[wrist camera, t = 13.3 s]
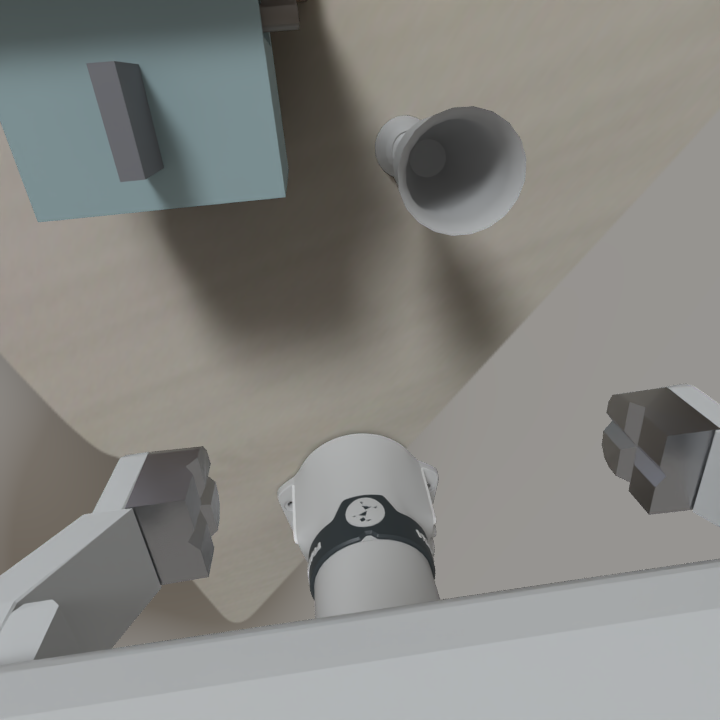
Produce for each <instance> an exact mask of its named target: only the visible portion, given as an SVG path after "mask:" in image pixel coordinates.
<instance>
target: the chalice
mask: <svg viewBox="0 0 720 720" xmlns="http://www.w3.org/2000/svg"><path fill="white" fill-rule="evenodd" d="M375 154H376V158H377V160H378V163H379V165H380V166H381V167H382V169H383V170H384V171H385V172H386V173H388V174H389V175H391V176H393V177H394V178H395V180H396V183H397V185H398V188H399V192H400V194H401V197H402V199H403V202H404V204H405V207H406V209H407V210H408V211H409V212H410V213H411V214H412V216H413V217H414V218H415V219H416V220H417V221H418V222H419V223H420V224H422V225H424V226H425V227H427V228H429V229H431V230H432V231H434V232H438V233H443V234H447V235H452V236H454V235H466V234H473V233H475V232H478V231H481V230H483V229H486V228H488V227H490V226H491V225H493V224H494V223H495V222H497V221H498V220H500V219H501V218H502V217H504V216H505V215H506V214H507V212H508V211H509V210H510V208H511V207H512V206H513V204H514V203H515V202H516V200H517V199H518V197H519V194H520V192H521V189H522V186H523V184H524V181H525V173H526V156H525V152H524V149H523V145H522V141H521V139H520V137H519V136H518V134H517V133H516V132H515V130H514V129H513V127H512V126H511V124H510V123H509V122H507V121H506V120H505V119H503V118H502V117H500V116H499V115H497V114H496V113H494V112H493V111H489V110H485V109H482V108H478V107H474V106H471V107H456V108H451V109H448V110H446V111H443V112H441V113H438V114H436V115H433V116H431V117H428V118H426V119H423V120H421V121H420V120H419V119H418V118H415V117H412V116H408V115H407V116H398V117H396V118H393V119H391V120H389V121H388V122H387V123H386V124H385V125H384V126H383V127H382V128H381V130H380V132H379V133H378V135H377V139H376V143H375Z"/></svg>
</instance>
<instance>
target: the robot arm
mask: <svg viewBox="0 0 720 720" xmlns="http://www.w3.org/2000/svg"><path fill="white" fill-rule="evenodd" d="M607 414H608V415H609V417H610V418H611V419H612V422H611V423H610V424H609V425H608V427H607V428H606V429H605V430H604V431H603V439H602V448H603V453H604V458H605V460H606V462H607V464H608V466H609V468H610V469H611V470H612V471H613V473H614V474H615V475H616V476H618V477H620V478H622V479H624V480H626V481H629V482H630V485H629V492H630V493H631V494H632V495H633V496H634V498H635V499H636V500H637V501H638V502H639V503H640V505H641V506H642V507H643V508H644V509H645V510H646V512H647V513H648V514H659V513H668V512H676V511H685V510H693V512H694V513H696V514H697V515H699V516H701V517H703V518H704V519H706V520H708V521H710V522H711V523H713V524H715V525H717V526H718V527H720V404H718V403H717V402H716V401H714V400H713V399H711V398H710V397H709V396H707V395H706V394H704V393H703V392H702V391H700V390H699V389H697V388H696V387H695V386H692V385H689V384H680V385H674V386H667V387H661V388H657V389H651V390H644V391H636V392H630V393H623V394H616V395H612V397H611V399H610V400H609V402H608V408H607ZM210 465H211V463H210V460H209V457H208V453H207V450H206V449H205V448H204V447H203V446H201V447H192V448H182V449H173V450H163V451H154V452H145V453H137V454H130V455H125V456H123V457H121V458H120V459H119V461H118V463H117V465H116V467H115V469H114V471H113V473H112V475H111V477H110V479H109V481H108V483H107V485H106V487H105V489H104V491H103V493H102V495H101V497H100V499H99V501H98V503H97V505H96V507H95V509H94V511H93V513H92V514H85V515H83V516H81V517H80V518H78V519H77V520H76V521H74V522H73V523H72V524H70V525H69V526H68V527H66V528H65V529H63V530H62V531H61V532H59V533H58V534H57V535H55V536H54V537H52V538H51V539H50V540H48V541H47V542H46V543H44V544H43V545H42V546H40V547H39V548H38V549H36V550H35V551H34V552H32V553H31V554H29V555H28V556H27V557H25V558H24V559H22V560H21V561H20V562H18V563H17V564H16V565H14V566H13V567H12V568H10V569H9V570H7V571H6V572H5V573H3V574H2V575H1V576H0V720H720V559H714V560H707V561H700V562H693V563H686V564H680V565H673V566H666V567H660V568H652V569H646V570H639V571H632V572H625V573H619V574H612V575H605V576H598V577H591V578H584V579H578V580H570V581H564V582H557V583H550V584H544V585H537V586H530V587H523V588H517V589H510V590H504V591H497V592H490V593H483V594H477V595H470V596H463V597H457V598H451V599H443V600H440V598H439V594H438V591H437V588H436V585H435V581H434V579H435V566H434V558H433V556H434V550H435V549H434V541H433V538H432V537H435V536H436V526H435V524H436V517H435V512H434V509H433V502H434V497H435V493H436V489H437V484H438V480H439V477H438V472H437V469H436V468H435V467H433V466H432V465H429V464H427V463H425V462H422V461H419V460H417V459H416V458H415V457H414V456H413V455H412V454H411V453H410V452H409V451H408V450H407V449H406V448H405V447H403V446H402V445H401V444H399V443H398V442H396V441H394V440H392V439H390V438H387V437H384V436H380V435H375V434H363V433H362V434H351V435H346V436H342V437H338V438H335V439H333V440H331V441H329V442H327V443H325V444H323V445H321V446H320V447H318V448H317V449H316V450H315V451H313V452H312V453H311V454H310V455H309V456H308V458H307V459H306V460H305V461H304V463H303V464H302V466H301V468H300V469H299V471H298V473H297V474H296V475H295V476H294V477H293V478H291V479H290V480H288V481H287V482H286V483H284V484H283V485H282V486H281V487H280V488H279V489H278V492H277V494H278V501H279V503H280V505H281V507H282V509H283V512H284V514H285V516H286V518H287V520H288V522H289V524H290V526H291V528H292V530H293V534H294V542H295V543H296V544H299V547H300V550H301V552H302V554H303V555H304V557H305V559H306V561H307V562H308V579H309V584H310V591H311V594H312V597H313V599H314V601H315V619H309V620H302V621H295V622H289V623H282V624H275V625H269V626H262V627H255V628H248V629H241V630H235V631H228V632H221V633H214V634H207V635H201V636H194V637H187V638H180V639H174V640H167V641H160V642H153V643H147V644H140V645H133V646H126V647H120V648H113V649H111V648H112V647H113V646H114V645H115V644H116V642H117V641H118V640H119V639H120V637H121V636H122V635H123V634H124V633H125V631H126V630H127V629H128V628H129V626H130V625H131V624H132V623H133V621H134V620H135V619H136V618H137V617H138V616H139V614H140V613H141V612H142V610H143V609H144V608H145V607H146V606H147V605H148V603H149V602H150V601H151V600H152V598H153V597H154V596H155V595H156V594H157V592H158V591H159V590H160V589H161V585H164V584H170V583H176V582H182V581H188V580H194V579H200V578H205V577H209V572H210V567H211V562H212V557H213V552H214V546H213V542H212V539H211V536H212V535H213V534H214V533H215V532H216V531H217V530H218V525H219V519H220V503H219V495H218V490H217V486H216V482H215V481H214V480H212V479H211V478H210V477H208V473H209V469H210ZM427 483H429V484H427ZM289 502H292V503H289Z"/></svg>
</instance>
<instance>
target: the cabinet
mask: <svg viewBox="0 0 720 720" xmlns="http://www.w3.org/2000/svg"><path fill="white" fill-rule="evenodd" d="M259 4H261V0H0V122H1V125H2V127H3V130H4V133H5V135H6V138H7V141H8V143H9V146H10V149H11V151H12V154H13V157H14V159H15V162H16V165H17V167H18V170H19V173H20V175H21V178H22V181H23V183H24V186H25V189H26V191H27V194H28V197H29V199H30V202H31V205H32V207H33V210H34V213H35V216H36V218H37V221H38V222H46V221H56V220H65V219H75V218H85V217H95V216H105V215H115V214H125V213H134V212H144V211H154V210H164V209H174V208H184V207H194V206H204V205H213V204H223V203H233V202H243V201H253V200H263V199H273V198H282V197H286V190H287V180H288V171H289V169H288V162H287V154H286V147H285V140H284V132H283V125H282V118H281V110H280V103H279V96H278V89H277V81H276V74H275V67H274V59H273V52H272V45H271V37H270V32H264V33H263V29H262V21H261V14H260V7H259Z"/></svg>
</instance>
